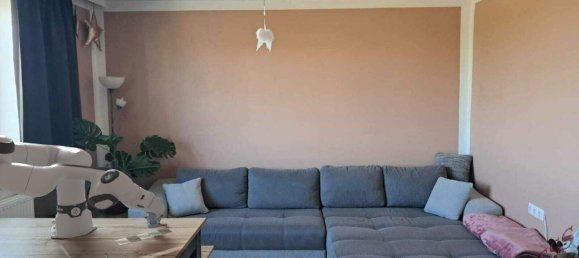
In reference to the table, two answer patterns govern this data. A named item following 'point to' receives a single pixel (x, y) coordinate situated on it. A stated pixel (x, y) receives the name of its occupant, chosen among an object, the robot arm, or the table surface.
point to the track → (143, 236)
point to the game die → (157, 218)
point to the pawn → (152, 221)
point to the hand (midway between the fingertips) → (153, 213)
